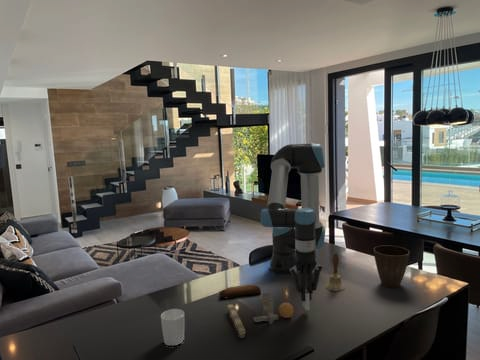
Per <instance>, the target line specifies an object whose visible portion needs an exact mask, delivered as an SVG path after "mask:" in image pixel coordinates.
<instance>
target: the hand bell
mask: <svg viewBox="0 0 480 360" xmlns="http://www.w3.org/2000/svg"><path fill="white" fill-rule="evenodd" d="M339 261H340V260H339V256H338V252H334V253H333V257H332V265H333V273H332V274H330V276H329V280H328V282H327V284H326V285H325V288H326V289H327V290H329V291H331V292H342V291H344V290H345V287H346V286H345V285H344V284H343V283H342V279H341V275H339V274H338V266H339Z"/></svg>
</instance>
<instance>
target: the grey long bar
mask: <svg viewBox="0 0 480 360" xmlns="http://www.w3.org/2000/svg"><path fill="white" fill-rule="evenodd" d="M228 310H229V312H230V315H231V317H232V319H233V321H234V324H235V326H236V328H237V330H238V332H239V334H240V335H242V334H246V333H247V332H246V329H245V326H244V324H243V322H242V320H241V318H240V316H239V314H238V312H237V310H236V308H235V306H234V304H227V311H228ZM230 315H229V316H230ZM231 317H230V318H231ZM234 324H233V325H234ZM235 326H234V327H235Z"/></svg>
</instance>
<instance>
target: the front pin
mask: <svg viewBox="0 0 480 360" xmlns="http://www.w3.org/2000/svg"><path fill="white" fill-rule="evenodd" d="M273 316H274V321H278V320H279V314H277V313H276V314H275V313H274V314H273ZM254 320H266V322H268V316H263V315H261V316H255V317H253V321H254Z"/></svg>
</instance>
